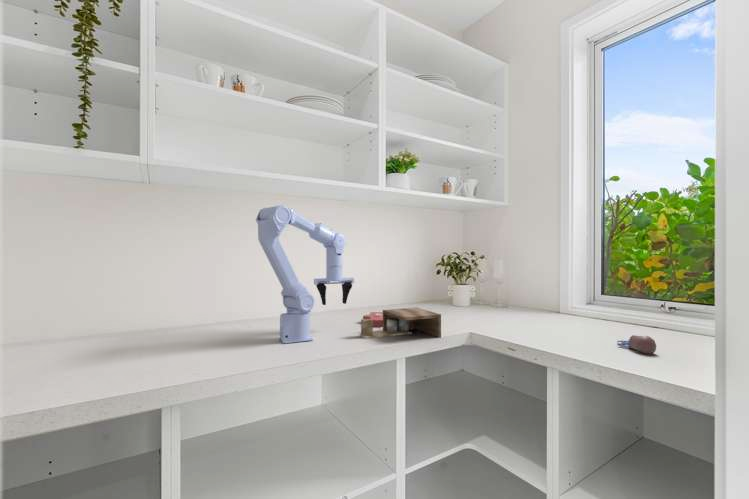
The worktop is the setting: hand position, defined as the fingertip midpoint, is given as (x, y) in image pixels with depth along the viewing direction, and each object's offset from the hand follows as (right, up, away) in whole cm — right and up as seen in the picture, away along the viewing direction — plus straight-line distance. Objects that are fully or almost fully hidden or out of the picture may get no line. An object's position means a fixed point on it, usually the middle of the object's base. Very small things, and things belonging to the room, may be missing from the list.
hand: (334, 303), depth 122 cm
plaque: (+17, -11, +15) cm, 26 cm away
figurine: (+90, -10, -24) cm, 94 cm away
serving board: (+19, -10, -5) cm, 22 cm away
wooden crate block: (+27, -10, -5) cm, 29 cm away
